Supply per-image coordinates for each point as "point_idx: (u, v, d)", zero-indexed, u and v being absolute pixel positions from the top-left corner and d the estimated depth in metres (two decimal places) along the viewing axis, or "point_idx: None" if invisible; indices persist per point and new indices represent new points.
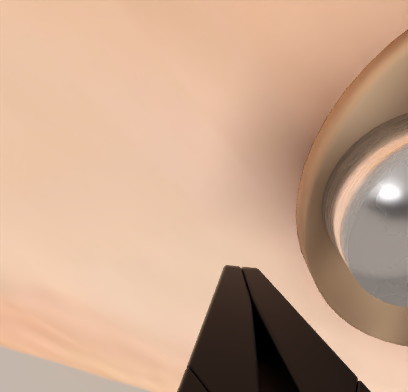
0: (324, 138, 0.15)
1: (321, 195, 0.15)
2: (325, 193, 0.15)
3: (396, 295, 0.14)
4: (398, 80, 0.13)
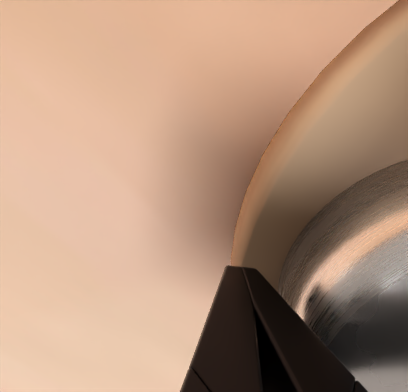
0: (257, 188, 0.09)
1: None
2: (281, 281, 0.09)
3: None
4: (371, 96, 0.07)
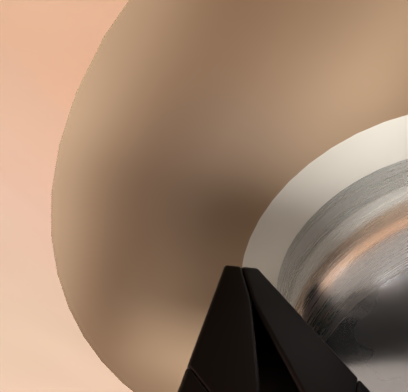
0: None
1: (70, 253, 0.09)
2: (280, 277, 0.09)
3: None
4: (132, 53, 0.07)
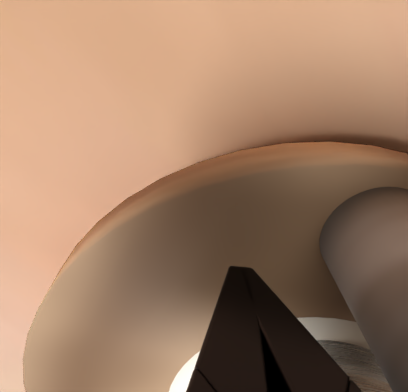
0: None
1: None
2: None
3: None
4: (75, 289, 0.10)
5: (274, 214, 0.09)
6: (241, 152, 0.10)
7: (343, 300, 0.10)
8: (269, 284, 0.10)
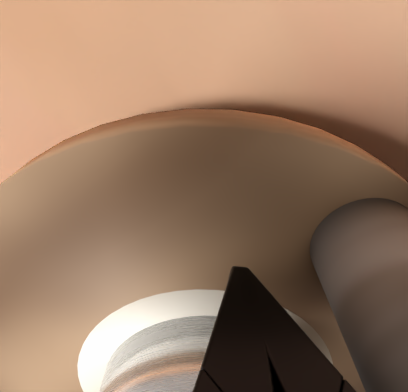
0: None
1: None
2: (111, 357, 0.12)
3: None
4: (52, 181, 0.09)
5: (291, 186, 0.09)
6: (278, 118, 0.09)
7: (304, 295, 0.10)
8: (249, 254, 0.10)
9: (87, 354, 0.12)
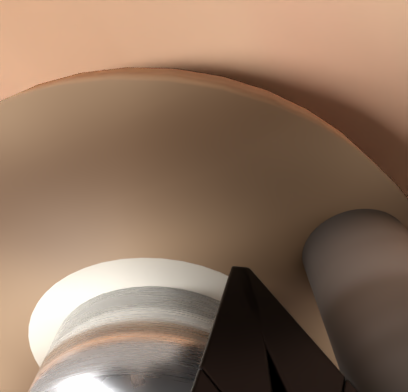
0: None
1: None
2: (72, 313, 0.11)
3: None
4: (66, 111, 0.08)
5: (308, 180, 0.09)
6: (308, 111, 0.09)
7: (284, 289, 0.11)
8: (245, 237, 0.10)
9: (46, 305, 0.11)
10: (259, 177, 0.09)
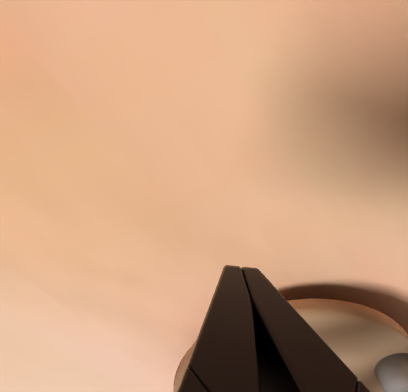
0: None
1: None
2: None
3: None
4: None
5: (381, 344, 0.23)
6: (377, 312, 0.23)
7: (364, 380, 0.24)
8: (353, 362, 0.24)
9: None
10: (363, 344, 0.23)
